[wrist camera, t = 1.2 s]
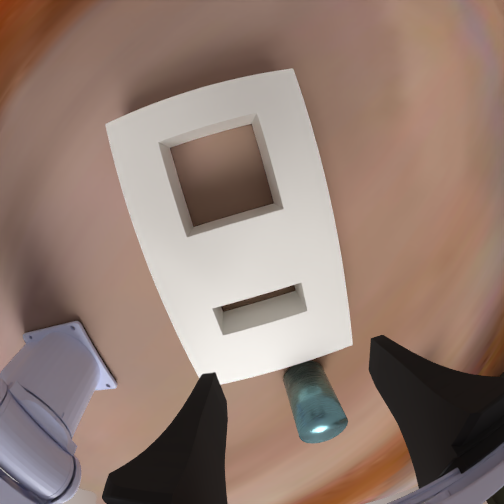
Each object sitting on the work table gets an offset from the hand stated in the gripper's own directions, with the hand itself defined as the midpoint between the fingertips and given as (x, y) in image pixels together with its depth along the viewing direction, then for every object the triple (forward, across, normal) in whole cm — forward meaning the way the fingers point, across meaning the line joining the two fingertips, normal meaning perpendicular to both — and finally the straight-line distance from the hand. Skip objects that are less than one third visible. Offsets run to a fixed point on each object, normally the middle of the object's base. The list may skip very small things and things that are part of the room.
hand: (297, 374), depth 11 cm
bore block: (+10, +2, -4) cm, 11 cm away
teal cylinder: (+10, -2, +10) cm, 15 cm away
